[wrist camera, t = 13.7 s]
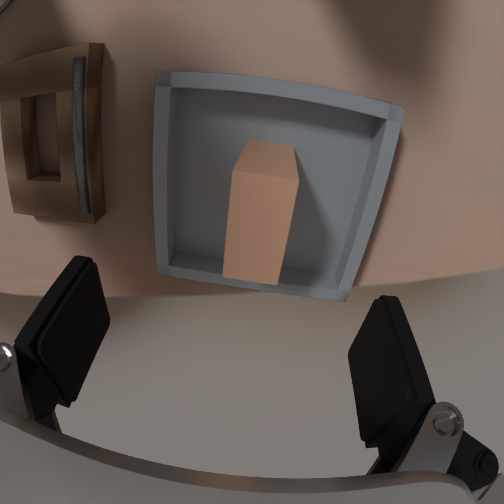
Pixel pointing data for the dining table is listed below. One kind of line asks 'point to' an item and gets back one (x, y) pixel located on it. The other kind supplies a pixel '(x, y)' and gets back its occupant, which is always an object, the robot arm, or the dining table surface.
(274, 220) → the tan rectangular block
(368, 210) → the tray
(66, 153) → the brown piece
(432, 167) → the dining table surface
